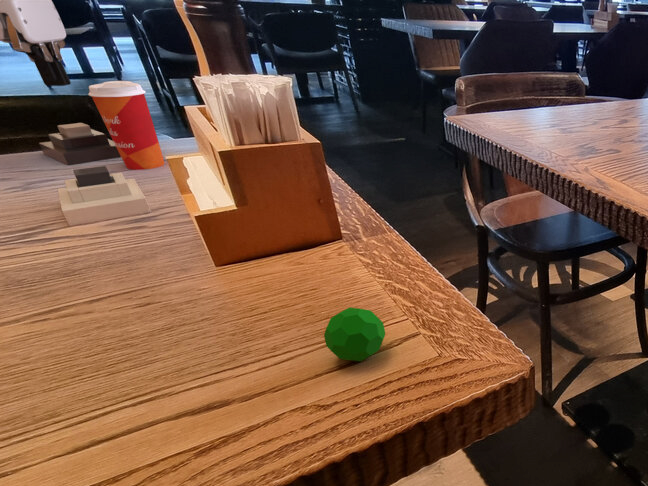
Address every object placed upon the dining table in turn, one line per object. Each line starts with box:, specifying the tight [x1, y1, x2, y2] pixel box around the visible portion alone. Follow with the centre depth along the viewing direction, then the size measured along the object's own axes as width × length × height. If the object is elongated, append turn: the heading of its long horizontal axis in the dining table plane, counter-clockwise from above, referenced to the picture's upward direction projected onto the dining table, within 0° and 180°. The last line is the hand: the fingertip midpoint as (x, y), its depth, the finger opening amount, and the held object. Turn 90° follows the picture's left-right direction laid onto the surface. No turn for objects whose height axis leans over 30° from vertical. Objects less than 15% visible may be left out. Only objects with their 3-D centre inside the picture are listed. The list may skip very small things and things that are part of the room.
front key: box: [73, 165, 113, 187], centre depth 76 cm, size 4×4×2 cm
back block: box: [38, 128, 121, 167], centre depth 100 cm, size 12×9×4 cm
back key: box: [57, 122, 93, 138], centre depth 98 cm, size 4×4×2 cm
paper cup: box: [88, 82, 165, 171], centre depth 93 cm, size 8×8×14 cm
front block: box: [57, 172, 152, 227], centre depth 77 cm, size 12×9×4 cm
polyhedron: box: [323, 307, 386, 362], centre depth 48 cm, size 5×5×5 cm
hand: (58, 84), depth 95 cm, fingers closed
